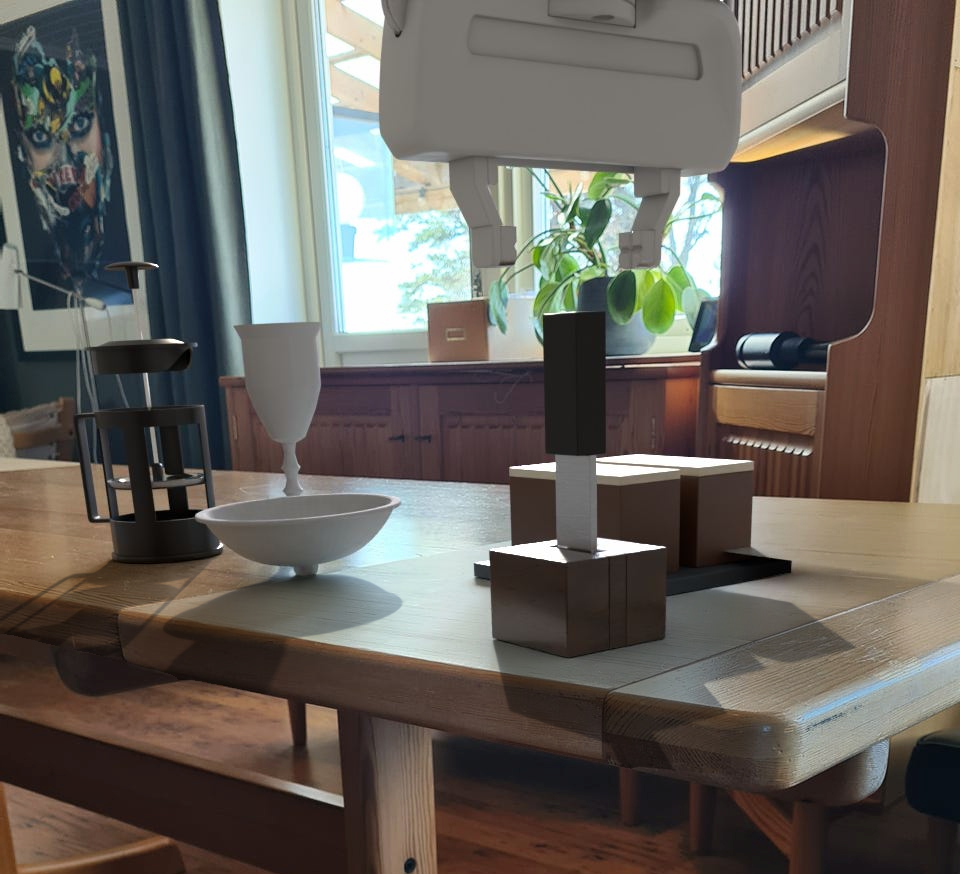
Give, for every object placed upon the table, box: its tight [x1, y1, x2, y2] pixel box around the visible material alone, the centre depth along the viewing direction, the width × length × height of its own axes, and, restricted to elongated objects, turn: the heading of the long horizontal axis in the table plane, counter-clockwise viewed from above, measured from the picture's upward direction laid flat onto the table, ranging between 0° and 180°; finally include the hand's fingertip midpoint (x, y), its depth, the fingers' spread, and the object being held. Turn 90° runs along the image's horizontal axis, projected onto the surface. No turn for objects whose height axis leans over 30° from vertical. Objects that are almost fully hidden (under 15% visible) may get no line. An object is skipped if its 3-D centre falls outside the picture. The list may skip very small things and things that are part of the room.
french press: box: [72, 261, 224, 564], centre depth 106 cm, size 12×9×23 cm
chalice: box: [233, 321, 323, 497], centre depth 108 cm, size 7×7×18 cm
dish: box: [195, 492, 402, 576], centre depth 97 cm, size 18×14×5 cm
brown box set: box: [473, 454, 793, 596], centre depth 90 cm, size 16×16×8 cm
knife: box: [542, 310, 607, 554], centre depth 69 cm, size 2×3×17 cm, turn 35°
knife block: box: [488, 538, 667, 658], centre depth 72 cm, size 7×7×5 cm
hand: (569, 268), depth 65 cm, fingers open, 8 cm apart
